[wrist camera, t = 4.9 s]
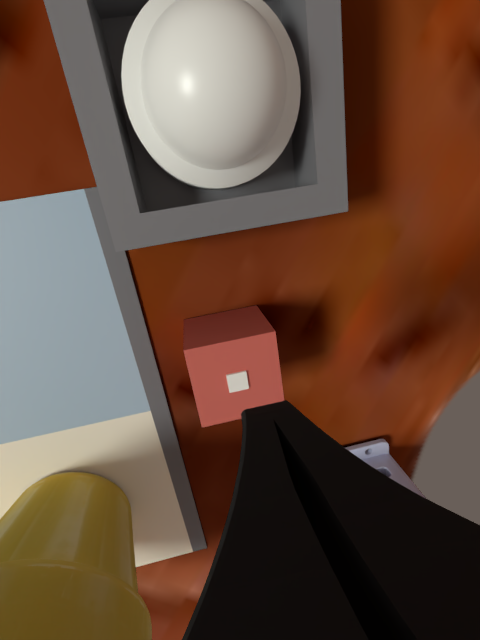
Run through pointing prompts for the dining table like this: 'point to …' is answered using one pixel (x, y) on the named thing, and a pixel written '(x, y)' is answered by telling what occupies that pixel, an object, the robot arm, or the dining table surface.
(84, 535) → the plant pot
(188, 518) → the game board
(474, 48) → the dining table surface
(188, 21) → the dome button
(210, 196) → the dome base
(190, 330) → the red die
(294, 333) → the dining table surface
